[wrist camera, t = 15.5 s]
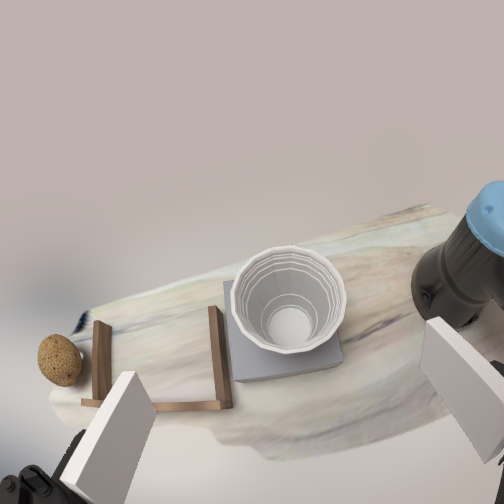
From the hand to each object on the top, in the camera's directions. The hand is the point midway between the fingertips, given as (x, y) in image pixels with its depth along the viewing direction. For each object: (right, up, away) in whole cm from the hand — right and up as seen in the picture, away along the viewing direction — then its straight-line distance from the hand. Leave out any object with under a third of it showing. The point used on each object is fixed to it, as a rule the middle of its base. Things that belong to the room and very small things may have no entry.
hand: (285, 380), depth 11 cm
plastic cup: (+4, -4, +25) cm, 25 cm away
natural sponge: (-34, -16, +31) cm, 49 cm away
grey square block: (+3, -6, +30) cm, 31 cm away
